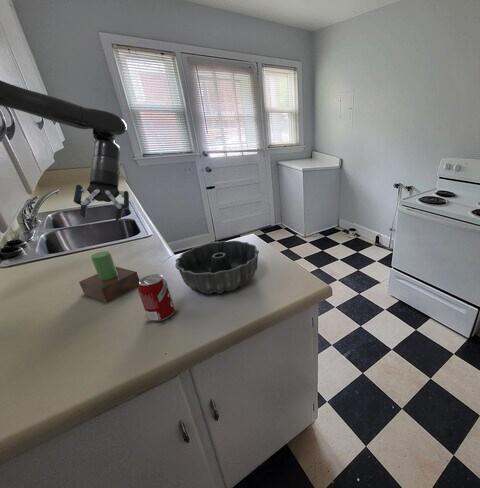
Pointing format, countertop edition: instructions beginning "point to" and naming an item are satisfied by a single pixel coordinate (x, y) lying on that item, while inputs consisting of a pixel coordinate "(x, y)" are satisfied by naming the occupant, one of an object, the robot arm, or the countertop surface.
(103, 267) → the green cylinder
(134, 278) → the walnut block
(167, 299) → the soda can
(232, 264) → the bundt pan
